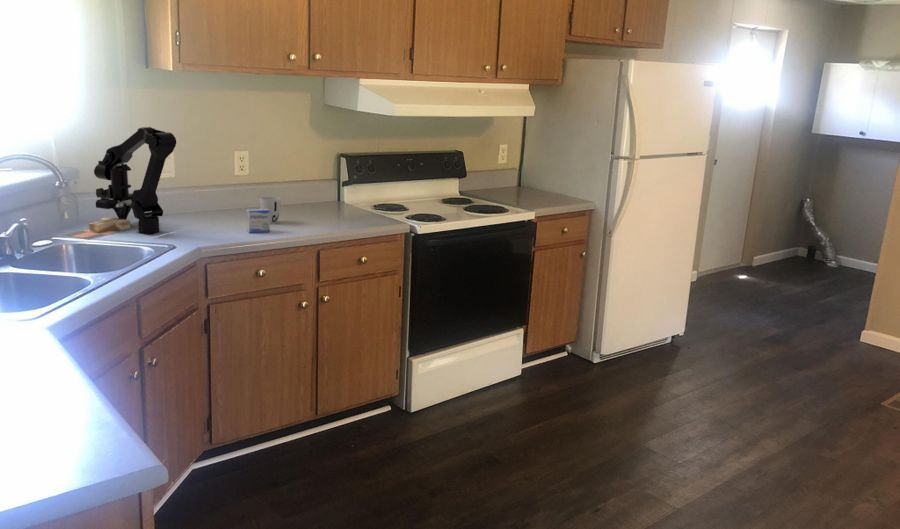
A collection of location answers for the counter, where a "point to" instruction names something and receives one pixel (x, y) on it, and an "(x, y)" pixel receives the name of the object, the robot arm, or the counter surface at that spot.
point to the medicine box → (258, 220)
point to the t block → (109, 225)
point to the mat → (91, 235)
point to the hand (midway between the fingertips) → (122, 223)
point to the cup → (271, 207)
